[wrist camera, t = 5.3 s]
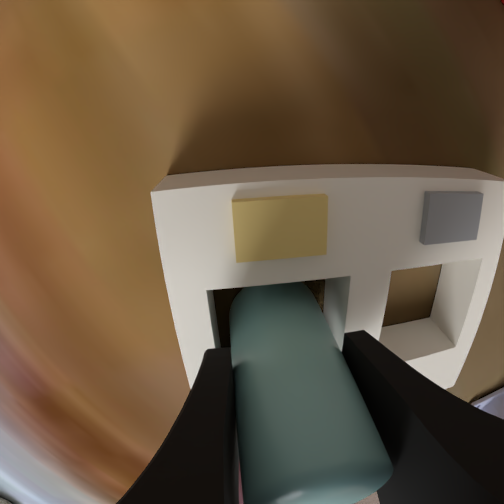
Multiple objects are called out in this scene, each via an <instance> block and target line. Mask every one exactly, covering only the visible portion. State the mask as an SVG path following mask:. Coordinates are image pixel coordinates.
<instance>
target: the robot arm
mask: <svg viewBox="0 0 504 504" xmlns="http://www.w3.org/2000/svg"><path fill="white" fill-rule="evenodd" d="M342 354H343V356H344V359H345V361H346V363H347V365H348V367H349V369H350V371H351V373H352V376H353V378H354V380H355V382H356V384H357V386H358V389H359V391H360V393H361V395H362V397H363V400H364V402H365V404H366V406H367V408H368V411H369V413H370V415H371V417H372V419H373V422H374V424H375V426H376V428H377V431H378V433H379V435H380V437H381V440H382V442H383V444H384V447H385V449H386V451H387V454H388V456H389V458H390V461H391V463H392V465H393V473H392V476H391V477H390V479H389V480H388V481H387V482H386V483H385V484H384V485H383V486H382V487H381V488H379V489H378V490H377V494H378V498H379V501H380V504H504V387H503V388H501V389H499V390H497V391H495V392H493V393H491V394H489V395H487V396H485V397H483V398H481V399H479V400H477V401H474V402H473V403H471V404H469V403H467V402H465V401H463V400H462V399H460V398H458V397H456V396H454V395H453V394H451V393H449V392H448V391H446V390H445V389H443V388H442V387H440V386H439V385H437V384H435V383H434V382H432V381H431V380H429V379H428V378H427V377H425V376H424V375H422V374H421V373H419V372H418V371H417V370H415V369H414V368H413V367H411V366H410V365H409V364H407V363H406V362H405V361H403V360H402V359H401V358H399V357H398V356H397V355H396V354H394V353H393V352H392V351H390V350H389V349H388V348H387V347H385V346H384V345H383V344H382V343H380V342H379V341H378V340H376V339H375V338H374V337H373V336H371V335H370V334H369V333H367V332H366V331H365V330H360V331H354V332H348V333H344V339H343V346H342ZM116 504H239V450H238V438H237V426H236V413H235V392H234V378H233V366H232V359H231V351H230V347H225V348H212V349H207V350H206V351H205V352H204V356H203V359H202V362H201V366H200V368H199V371H198V374H197V376H196V379H195V381H194V384H193V386H192V388H191V390H190V393H189V395H188V397H187V399H186V401H185V403H184V406H183V408H182V410H181V412H180V413H179V415H178V417H177V419H176V421H175V422H174V424H173V426H172V428H171V430H170V432H169V433H168V435H167V437H166V438H165V440H164V442H163V443H162V445H161V446H160V448H159V450H158V451H157V453H156V454H155V455H154V457H153V458H152V460H151V461H150V463H149V464H148V466H147V467H146V468H145V470H144V471H143V472H142V473H141V475H140V476H139V477H138V479H137V480H136V481H135V482H134V484H133V485H132V486H131V487H130V489H129V490H128V491H127V492H126V493H125V494H124V496H123V497H122V498H121V499H120V500H119V501H118V502H117V503H116Z"/></svg>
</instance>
